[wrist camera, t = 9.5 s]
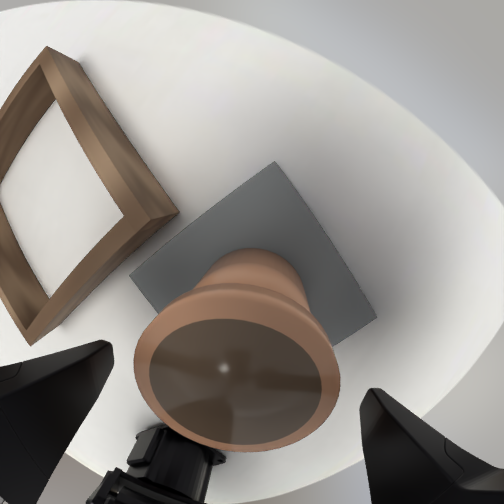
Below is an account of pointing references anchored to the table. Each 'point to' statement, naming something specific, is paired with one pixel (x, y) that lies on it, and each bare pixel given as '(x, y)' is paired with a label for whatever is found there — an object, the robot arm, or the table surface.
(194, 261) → the slate mat
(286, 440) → the terracotta pot
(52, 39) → the table surface
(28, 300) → the brown wooden square frame
